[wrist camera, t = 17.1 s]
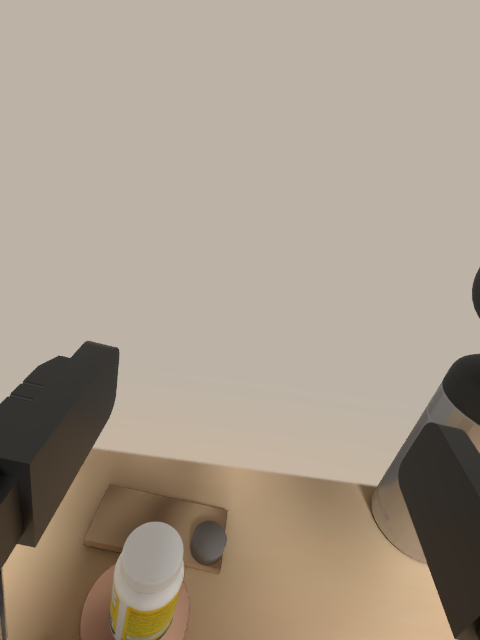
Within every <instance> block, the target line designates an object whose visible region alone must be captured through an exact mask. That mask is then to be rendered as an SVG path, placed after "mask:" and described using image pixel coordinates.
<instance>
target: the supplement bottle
mask: <svg viewBox="0 0 480 640" xmlns="http://www.w3.org/2000/svg"><path fill="white" fill-rule="evenodd" d="M183 552H184V548H183V542H182V539H181V537H180V535H179V534H178V532H177V531H176V530H175V529H174V528H173V527H172V526H170V525H168V524H166V523H163V522H148V523H145V524H143V525H141V526H139V527H137V528H136V529H135V530H134V531H133V532H132V533H131V534H130V535H129V537H128V538H127V540H126V542H125V544H124V547H123V551H122V553H121V554H120V556H119V558H118V560H117V563H116V566H115V569H114V576H113V586H112V594H111V604H110V614H109V622H110V628H111V632H112V634H113V636H114V638H115V639H116V640H161V639H162V638H163V636H164V635H165V634H166V632H167V630H168V629H169V627H170V624H171V622H172V619H173V616H174V611H175V608H176V604H177V600H178V596H179V593H180V589H181V585H182V582H183V577H184V562H183Z"/></svg>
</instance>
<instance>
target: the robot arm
mask: <svg viewBox="0 0 480 640" xmlns="http://www.w3.org/2000/svg"><path fill="white" fill-rule="evenodd" d="M472 300H473V304H474V308H475V310H476V312H477V314H478V316H479V318H480V268H479V270H478V272H477V274H476V276H475V279H474V283H473V288H472ZM118 364H119V349H118V348H117V347H112V346H108V345H103V344H99V343H95V342H91V341H86V342H85V343H84V344H83V345H82V346H81V347H80V348H79V349H78V350H77V351H76V353H75V354H74V355H73V356H72V357H71V358H67V357H63V356H58V357H56V358H53V359H52V360H49V361H47V362H45V363H43V364H41V365H40V366H38V367H37V368H36V369H35V370H34V371H33V372H32V373H31V374H30V375H29V376H28V377H27V378H26V379H25V380H24V381H23V384H20V385H19V386H18V387H17V388H16V389H15V390H14V391H13V392H12V393H11V395H10V397H7V398H6V399H5V400H4V401H3V402H2V403H1V404H0V640H8V634H7V622H6V609H5V597H4V584H3V572H2V567H3V565H4V564H5V562H6V560H7V559H8V557H9V555H10V554H11V552H12V551H13V549H14V547H15V546H16V544H21V545H26V546H30V547H36V545H37V543H38V542H39V540H40V538H41V536H42V535H43V533H44V531H45V529H46V528H47V526H48V524H49V522H50V521H51V519H52V517H53V515H54V514H55V512H56V510H57V508H58V507H59V505H60V503H61V501H62V500H63V498H64V496H65V494H66V493H67V491H68V489H69V487H70V486H71V484H72V482H73V480H74V479H75V477H76V475H77V473H78V472H79V470H80V468H81V466H82V465H83V463H84V461H85V459H86V458H87V456H88V454H89V452H90V451H91V449H92V447H93V445H94V444H95V442H96V440H97V438H98V437H99V435H100V433H101V431H102V429H103V428H104V426H105V424H106V423H107V421H108V419H109V417H110V415H111V412H112V409H113V406H114V402H115V397H116V388H117V376H118ZM371 508H372V513H373V515H374V518H375V521H376V522H377V524H378V526H379V528H380V529H381V531H382V532H383V533H384V535H385V536H386V537H387V538H388V539H389V541H390V542H391V543H392V544H393V545H394V546H396V547H397V548H398V549H399V550H401V551H402V552H403V553H405V554H406V555H408V556H410V557H411V558H413V559H415V560H418V561H420V562H423V563H427V564H428V567H429V569H430V572H431V575H432V578H433V580H434V583H435V586H436V589H437V591H438V594H439V597H440V600H441V602H442V605H443V608H444V611H445V613H446V616H447V619H448V622H449V624H450V627H451V630H452V633H453V635H454V638H455V639H458V640H480V354H473V355H468V356H464V357H462V358H460V359H458V360H457V361H456V362H455V363H454V364H453V365H452V366H451V368H450V369H449V371H448V373H447V374H446V376H445V377H444V379H443V381H442V383H441V384H440V386H439V387H438V389H437V391H436V393H435V394H434V396H433V397H432V399H431V401H430V402H429V404H428V406H427V407H426V409H425V410H424V412H423V414H422V415H421V417H420V419H419V420H418V422H417V424H416V425H415V427H414V428H413V430H412V431H411V433H410V435H409V436H408V438H407V439H406V441H405V443H404V444H403V446H402V447H401V449H400V451H399V452H398V454H397V456H396V457H395V459H394V461H393V462H392V464H391V465H390V467H389V469H388V470H387V472H386V473H385V475H384V477H383V478H382V480H381V481H380V483H379V485H378V486H377V488H376V490H375V491H374V493H373V495H372V498H371Z"/></svg>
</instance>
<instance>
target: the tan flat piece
mask: <svg viewBox="0 0 480 640" xmlns="http://www.w3.org/2000/svg"><path fill="white" fill-rule="evenodd" d="M227 511H228V510H224V509H219V508H215V507H210V506H206V505H201V504H197V503H192V502H187V501H183V500H178V499H174V498H169V497H165V496H160V495H156V494H151V493H146V492H142V491H137V490H133V489H128V488H124V487H119V486H115V485H109V487H108V489H107V491H106V493H105V495H104V498H103V500H102V502H101V504H100V506H99V508H98V511H97V513H96V515H95V517H94V519H93V521H92V524H91V526H90V528H89V530H88V532H87V534H86V537H85V539H84V545H86V546H91V547H96V548H100V549H105V550H110V551H114V552H119V553H122V551H123V547H124V544H125V542H126V540H127V538H128V537H129V535H130V534H131V533H132V532H133V531H134V530H135V529H136V528H137V527H139V526H141V525H143V524H145V523H148V522H163V523H166V524H168V525H170V526H172V527H173V528H174V529H175V530H176V531H177V532H178V534H179V535H180V537H181V539H182V542H183V548H184V552H183V562H184V566H185V567H190V568H194V569H199V570H204V571H208V572H213V573H218V574H219V572H220V570H221V563H222V554H223V551H224V548H225V545H226V540H227V538H226V533H225V528H226V519H227ZM115 566H116V564H114V565H113V566H111V567H110V568H108V569H107V570H106V571H105V572H104V573H103V574H102V575H101V576H100V577H99V578H98V580H97V581H96V582H95V584H94V585H93V587H92V588H91V590H90V592H89V594H88V596H87V598H86V601H85V604H84V607H83V611H82V615H81V624H80V637H81V640H116V639H115V638H114V636H113V634H112V632H111V628H110V622H109V614H110V604H111V594H112V586H113V576H114V569H115ZM188 619H189V597H188V593H187V589H186V586H185V584H184V582H182V585H181V589H180V593H179V596H178V600H177V604H176V608H175V611H174V616H173V619H172V622H171V624H170V627H169V629H168V630H167V632H166V634H165V635H164V636H163V638H162V639H161V640H183V638H184V635H185V632H186V629H187V625H188Z"/></svg>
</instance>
